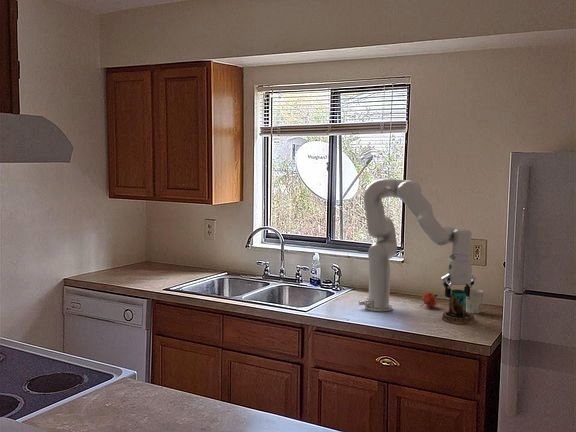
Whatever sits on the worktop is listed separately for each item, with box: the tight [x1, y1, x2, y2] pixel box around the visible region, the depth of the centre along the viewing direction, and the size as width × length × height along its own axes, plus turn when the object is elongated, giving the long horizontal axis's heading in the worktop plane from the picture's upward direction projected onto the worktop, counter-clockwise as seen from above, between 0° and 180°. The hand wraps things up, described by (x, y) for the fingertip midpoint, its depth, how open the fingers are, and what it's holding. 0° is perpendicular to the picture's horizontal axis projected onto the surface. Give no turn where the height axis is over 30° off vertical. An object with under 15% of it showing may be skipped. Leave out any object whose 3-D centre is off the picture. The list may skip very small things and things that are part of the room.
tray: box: [441, 310, 476, 325], centre depth 277 cm, size 14×14×2 cm
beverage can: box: [448, 289, 466, 318], centre depth 277 cm, size 7×7×12 cm
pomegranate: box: [419, 292, 439, 309], centre depth 299 cm, size 7×7×10 cm
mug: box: [466, 288, 484, 315], centre depth 292 cm, size 8×13×10 cm, turn 58°
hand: (457, 296), depth 276 cm, fingers open, 9 cm apart
